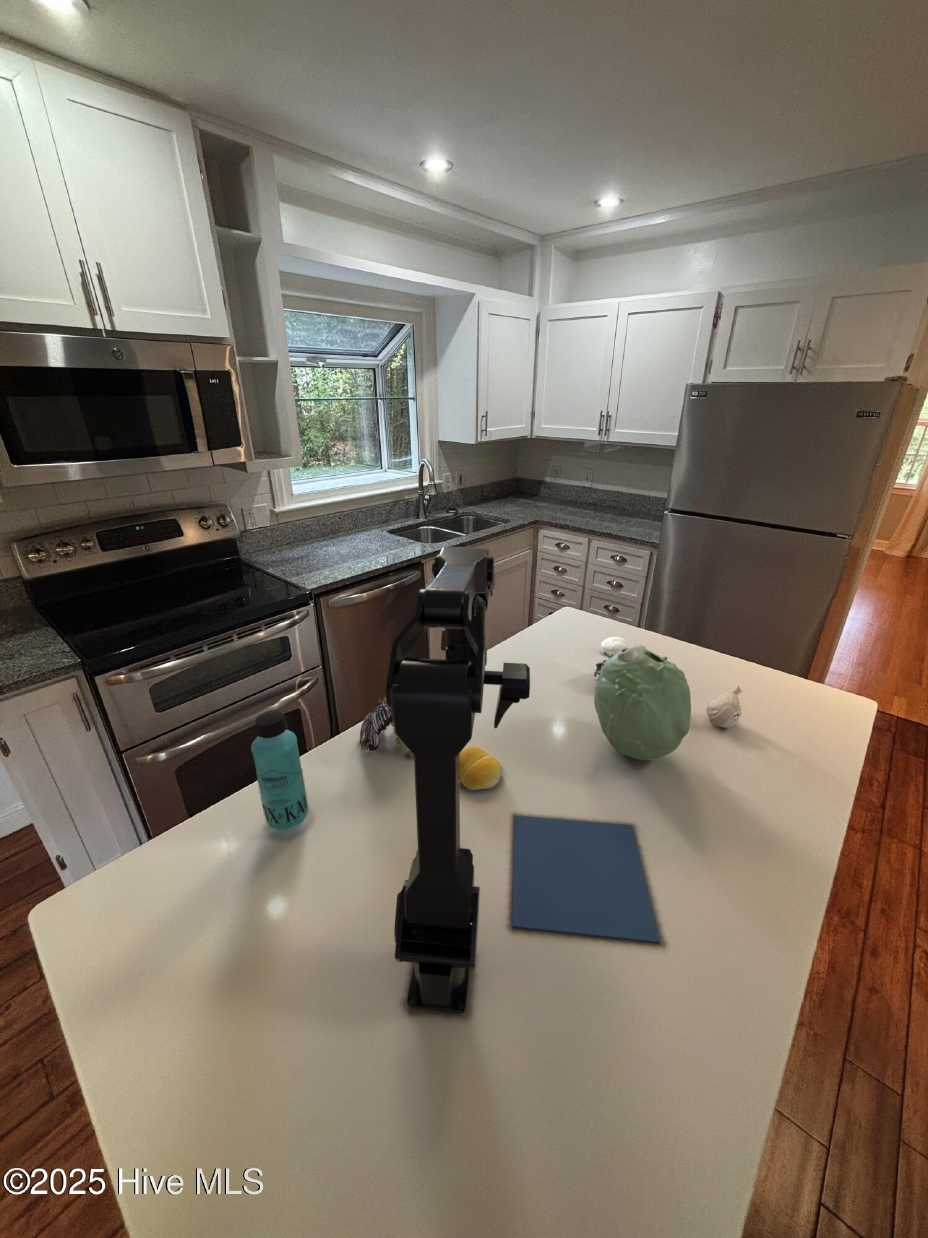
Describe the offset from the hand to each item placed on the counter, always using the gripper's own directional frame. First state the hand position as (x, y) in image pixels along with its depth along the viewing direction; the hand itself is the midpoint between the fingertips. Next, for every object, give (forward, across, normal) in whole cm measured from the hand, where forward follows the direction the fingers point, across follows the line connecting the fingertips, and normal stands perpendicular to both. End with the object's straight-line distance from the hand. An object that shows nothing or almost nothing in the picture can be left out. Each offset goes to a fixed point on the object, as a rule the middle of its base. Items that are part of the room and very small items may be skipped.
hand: (465, 724), depth 76 cm
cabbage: (+15, -30, -16) cm, 37 cm away
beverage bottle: (+15, +27, +8) cm, 32 cm away
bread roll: (+15, -1, -6) cm, 16 cm away
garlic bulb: (+15, -49, -25) cm, 57 cm away
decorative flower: (+15, +15, -12) cm, 24 cm away
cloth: (+15, -17, +12) cm, 26 cm away
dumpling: (+15, -32, -54) cm, 64 cm away
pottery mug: (+15, -31, -36) cm, 50 cm away
